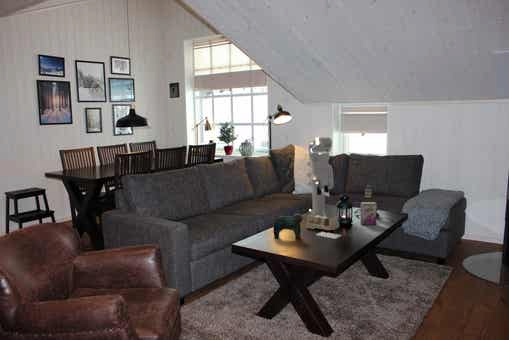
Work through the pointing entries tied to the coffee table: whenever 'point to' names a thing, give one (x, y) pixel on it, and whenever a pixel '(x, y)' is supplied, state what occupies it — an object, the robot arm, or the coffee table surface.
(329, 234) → the felt pad
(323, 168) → the robot arm
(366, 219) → the candy bar box
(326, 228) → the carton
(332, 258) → the coffee table surface
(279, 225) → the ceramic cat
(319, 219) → the block
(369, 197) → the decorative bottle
